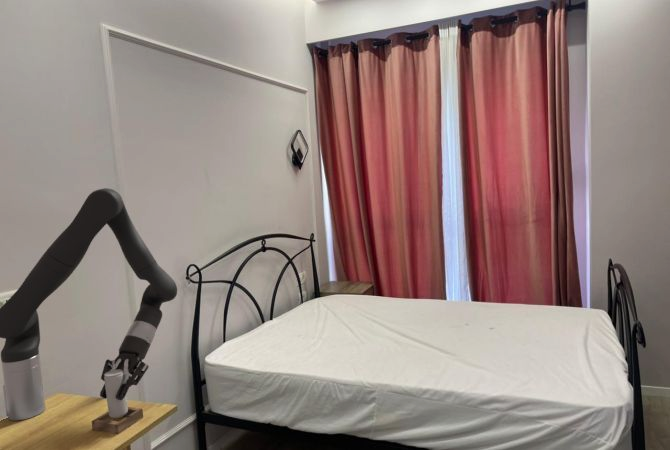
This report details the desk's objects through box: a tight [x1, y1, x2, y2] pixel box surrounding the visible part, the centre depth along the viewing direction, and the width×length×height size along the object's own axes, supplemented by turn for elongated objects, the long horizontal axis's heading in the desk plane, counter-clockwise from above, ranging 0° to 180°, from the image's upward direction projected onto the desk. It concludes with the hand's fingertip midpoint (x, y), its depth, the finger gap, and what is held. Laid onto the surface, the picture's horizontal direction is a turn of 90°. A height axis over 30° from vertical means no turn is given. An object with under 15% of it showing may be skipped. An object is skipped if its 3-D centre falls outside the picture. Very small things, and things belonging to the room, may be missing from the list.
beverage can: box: [104, 369, 129, 419], centre depth 127 cm, size 5×5×12 cm
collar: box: [91, 406, 144, 435], centre depth 128 cm, size 9×9×3 cm
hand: (110, 398), depth 126 cm, fingers closed on beverage can, 4 cm apart
